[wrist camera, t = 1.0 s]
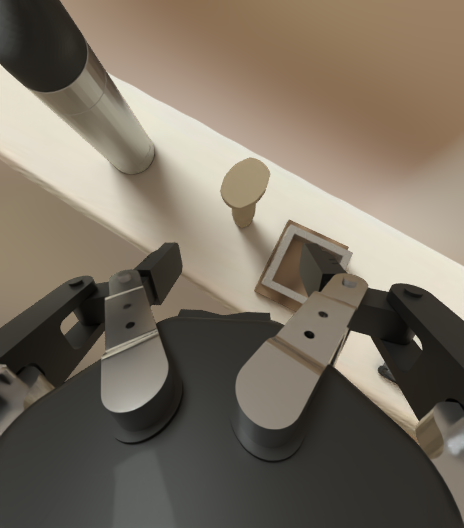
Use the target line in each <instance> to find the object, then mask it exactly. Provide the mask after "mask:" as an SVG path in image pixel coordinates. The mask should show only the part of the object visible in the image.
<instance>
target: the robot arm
mask: <svg viewBox="0 0 464 528" xmlns="http://www.w3.org/2000/svg"><path fill="white" fill-rule="evenodd" d="M0 64H1V65H2V66H3V67H4V68H5V69H6V70H7V71H8V72H9V73H10V74H11V75H13V76H14V77H15V78H16V79H17V80H18V81H19V82H20V83H22V84H23V85H24V86H25V87H26V88H27V89H28V90H30V91H31V92H32V93H33V94H34V95H35V96H36V97H37V98H39V99H40V100H41V101H42V102H43V103H44V104H45V105H46V106H48V107H49V108H50V109H51V110H52V111H53V112H54V113H56V114H57V115H58V116H59V117H60V118H61V119H62V120H63V121H65V122H66V123H67V124H68V125H69V126H70V127H71V128H72V129H74V130H75V131H76V132H77V133H78V134H79V135H80V136H81V137H83V138H84V139H85V140H86V141H87V142H88V143H89V144H90V145H92V146H93V147H94V148H95V149H96V150H97V151H98V152H99V153H100V154H102V155H103V156H104V157H105V158H106V159H107V160H108V161H109V162H110V163H112V164H113V165H114V166H115V167H116V168H117V169H119V170H120V171H121V172H123V173H127V174H136V173H140V172H142V171H144V170H145V169H146V168H147V167H148V166H149V165H150V164H151V162H152V160H153V158H154V146H153V143H152V141H151V140H150V138H149V137H148V135H147V134H146V132H145V130H144V129H143V127H142V126H141V124H140V123H139V121H138V119H137V118H136V116H135V115H134V113H133V112H132V110H131V109H130V107H129V106H128V104H127V103H126V101H125V99H124V98H123V96H122V95H121V93H120V92H119V90H118V89H117V87H116V86H115V84H114V82H113V81H112V79H111V78H110V76H109V75H108V73H107V72H106V70H105V69H104V67H103V66H102V64H101V63H100V61H99V60H98V58H97V57H96V55H95V53H94V52H93V50H92V49H91V47H90V46H89V44H88V43H87V41H86V40H85V38H84V37H83V35H82V33H81V32H80V30H79V29H78V27H77V26H76V24H75V23H74V21H73V20H72V18H71V17H70V15H69V14H68V12H67V11H66V9H65V8H64V6H63V5H62V3H61V2H60V0H0ZM181 272H182V260H181V255H180V250H179V245H178V244H177V243H164V244H163V245H162V246H161V247H160V248H159V249H158V250H156V251H154V252H152V253H151V254H150V255H148V256H147V258H145V259H144V260H143V261H142V262H141V263H140V264H139V265H138V266H137V267H136V268H135V269H133V270H132V269H130V270H124V271H120V272H118V273H116V274H114V275H113V276H111V277H110V279H109V282H104V283H98V284H95V282H94V279H93V278H92V277H91V276H81V277H77V278H73V279H71V280H69V281H67V282H65V283H63V284H62V285H60V286H59V287H58V288H56V289H55V290H53V291H52V292H51V293H49V294H48V295H46V296H45V297H44V298H42V299H41V300H39V301H38V302H36V303H35V304H34V305H32V306H31V307H29V308H28V309H27V310H25V311H24V312H22V313H21V314H19V315H18V316H17V317H15V318H14V319H12V320H11V321H10V322H8V323H7V324H5V325H4V326H3V327H1V328H0V528H464V321H463V320H462V319H461V318H460V317H459V316H457V315H456V314H455V313H454V312H453V311H451V310H450V309H449V308H448V307H447V306H445V305H444V304H443V303H442V302H441V301H439V300H438V299H437V298H436V297H435V296H433V295H432V294H431V293H429V292H428V291H426V290H424V289H422V288H420V287H417V286H413V285H409V284H402V283H398V284H394V285H392V286H391V288H390V290H389V292H386V291H381V290H376V289H371V288H368V284H367V282H366V281H365V280H364V279H362V278H360V277H358V276H355V275H352V274H347V272H346V271H345V270H344V269H343V267H342V266H341V265H340V264H339V262H338V261H337V260H336V259H335V257H334V256H333V255H332V254H330V253H328V252H327V251H322V249H321V248H320V247H319V245H318V244H317V243H304V244H303V246H302V251H301V257H300V264H299V274H300V277H301V280H302V283H303V285H304V288H305V290H306V293H307V295H308V299H307V300H306V301H305V302H304V304H303V305H302V306H301V307H300V308H299V309H298V311H297V312H296V313H295V314H294V315H293V316H292V318H291V319H290V320H289V321H288V322H287V323H286V325H283V324H281V323H279V322H276V321H272V320H271V319H270V313H257V312H244V313H238V314H231V315H219V314H215V313H211V312H207V311H203V310H185V309H181V310H180V312H179V314H178V316H175V317H171V318H168V319H165V320H162V321H160V322H158V323H156V322H155V320H154V316H153V313H152V310H151V305H161V304H162V302H163V301H164V299H165V298H166V296H167V294H168V293H169V291H170V290H171V288H172V287H173V285H174V283H175V282H176V280H177V279H178V277H179V275H180V274H181ZM72 311H73V312H74V314H75V315H76V317H77V318H78V320H79V321H78V322H77V323H76V324H75V325H74V326H73V327H72V328H71V329H70V330H69V331H68V332H67V333H66V334H65V335H63V333H62V332H61V330H60V325H61V323H62V321H63V320H64V319H65V318H66V317H67V316H68V315H69V314H70V313H71V312H72ZM104 331H105V354H103V356H102V358H101V359H100V360H98V361H97V362H95V363H93V364H92V365H90V366H89V367H87V368H86V369H84V370H83V371H81V372H79V373H78V374H76V375H75V376H73V377H72V378H70V379H68V380H67V381H66V382H65V380H66V379H67V378H68V377H69V375H70V374H71V373H72V371H73V370H74V369H75V368H76V366H77V365H78V364H79V362H80V361H81V360H82V359H83V357H84V356H85V355H86V354H87V352H88V351H89V350H90V349H91V347H92V346H93V345H94V344H95V342H96V341H97V339H98V338H99V337H100V336H101V335H102V333H103V332H104ZM351 331H355V332H358V333H362V334H366V335H369V336H371V338H372V340H373V342H374V344H375V345H376V347H377V349H378V351H379V352H380V354H381V356H382V358H383V359H384V361H385V363H386V365H387V366H388V368H389V370H390V372H391V373H392V375H393V377H394V379H395V380H396V382H397V384H398V386H399V387H400V389H401V391H402V393H403V394H404V396H405V398H406V400H407V401H408V403H409V405H410V407H411V408H412V410H413V412H414V413H415V415H416V417H417V419H418V420H419V422H418V423H417V425H416V429H415V431H416V437H417V440H418V442H419V445H420V446H419V445H418V444H417V443H416V442H415V441H414V440H413V439H412V438H411V437H410V436H409V435H408V434H407V433H406V432H405V431H404V430H403V429H402V428H401V427H400V426H399V425H398V424H397V423H395V422H394V421H393V420H392V419H391V418H390V417H389V416H388V415H387V414H385V413H384V412H383V411H382V410H381V409H380V408H379V407H378V406H377V405H375V404H374V403H373V402H372V401H371V400H370V399H369V398H368V397H367V396H366V395H364V394H363V393H362V392H361V391H360V390H359V389H358V388H357V387H356V386H354V385H353V384H352V383H351V382H350V381H349V380H348V379H347V378H346V377H345V376H343V375H342V374H341V373H340V372H339V371H338V370H337V369H336V368H335V364H336V362H337V360H338V357H339V355H340V353H341V351H342V349H343V347H344V345H345V343H346V340H347V338H348V336H349V334H350V332H351ZM415 334H416V336H417V337H418V338H419V339H420V341H421V344H422V350H421V349H420V347H419V346H418V345H417V344H416V342H415V341H414V340H413V337H414V336H415Z"/></svg>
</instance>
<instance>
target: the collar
mask: <svg viewBox="0 0 464 528" xmlns="http://www.w3.org/2000/svg"><path fill="white" fill-rule="evenodd" d="M292 238H293V239H295V240H297V241H299V242H301V243H303V244H304V243H317V244H318V245H319V247H320V248H321V249H322V251H327V252H328V253H330V254H332V255H333V256H334V257H335V259H336V260H337V261H338V262H339V264H340V265H341V266H342V267H343V269H344V270H345V269H346V267H347V265H348V263H349V261H350V258H351V256H352V254H353V253H352V252H350V251H348V250H346V249H343V248H341V247H339V246H337V245H335V244H333V243H330V242H328V241H326V240H324V239H322V238H320V237H317V236H315V235H313V234H311V233H309V232H307V231H304V230H302V229H300V228H298V227H296V226H294V225H292V224H291V225H290V226H289V227H288V228H287V229H286V231H285V233H284V235H283V237H282V239H281V241H280V244H279V246H278V248H277V250H276V252H275V254H274V256H273V258H272V260H271V262H270V264H269V266H268V268H267V270H266V273H265V275H264V277H263V279H262V281H261V284H263V285H265V286H267V287H269V288H271V289H273V290H275V291H277V292H279V293H281V294H283V295H285V296H288V297H290V298H292V299H294V300H296V301H298V302H300V303H302V304H304V302H305V301H306V300H307V299H308V298H307V297H305V296H303V295H300V294H298V293H296V292H294V291H292V290H290V289H288V288H286V287H284V286H282V285H280V284H278V283H276V282H274V281H272V279H273V277H274V275H275V273H276V271H277V269H278V267H279V264H280V262H281V260H282V258H283V256H284V254H285V252H286V250H287V248H288V246H289V244H290V242H291V239H292Z"/></svg>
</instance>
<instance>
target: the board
mask: <svg viewBox="0 0 464 528" xmlns="http://www.w3.org/2000/svg"><path fill="white" fill-rule="evenodd" d="M291 224H292V225H294V226H296V227H298V228H300V229H302V230H304V231H307V232H309V233H311V234H313V235H315V236H317V237H320V238H322V239H324V240H326V241H328V242H330V243H333V244H335V245H337V246H339V247H341V248H343V249H346V250H348V248H349V247H348V246H345V245H343V244H341V243H339V242H337V241H335V240H332V239H330V238H328V237H326V236H324V235H322V234H319V233H317V232H315V231H313V230H311V229H308V228H306V227H304V226H302V225H300V224H298V223H295V222H293V221H291V220H289V221H288V222H287V224H286V226H285V228H284V230H283V232H282V234H281V236H280V238H279V240H278V242H277V244H276V246H275V248H274V250H273V252H272V255H271V257H270V259H269V261H268V263H267V265H266V267H265V269H264V271H263V273H262V275H261V277H260V279H259V281H258V284H257V286H256V288H255V290H254V291H255V292H257V293H259V294H261V295H263V296H265V297H267V298H269V299H271V300H273V301H275V302H278V303H280V304H282V305H284V306H286V307H288V308H290V309H292V310H294V311H296V312H297V311H298V309H299V308H300V307H301V306H302V305H303V304H302V303H300V302H298V301H296V300H294V299H292V298H290V297H288V296H285V295H283V294H281V293H279V292H277V291H275V290H273V289H271V288H269V287H267V286H265V285H263V284H261V281H262V279H263V277H264V275H265V273H266V270H267V268H268V266H269V264H270V262H271V260H272V258H273V256H274V254H275V252H276V250H277V248H278V246H279V244H280V241H281V239H282V237H283V235H284V233H285V231H286V229H287V228H288V227H289V226H290V225H291ZM302 246H303V243H301V242H299V241H297V240H295V239H293V238H292V239H291V242H290V244H289V246H288V248H287V250H286V252H285V254H284V256H283V258H282V260H281V262H280V264H279V267H278V269H277V271H276V273H275V275H274V277H273V279H272V281H274V282H276V283H278V284H280V285H282V286H284V287H286V288H288V289H290V290H292V291H294V292H296V293H298V294H300V295H303V296H305V297H307V298H308V295H307V293H306V290H305V288H304V285H303V283H302V280H301V277H300V274H299V264H300V257H301V251H302Z"/></svg>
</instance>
